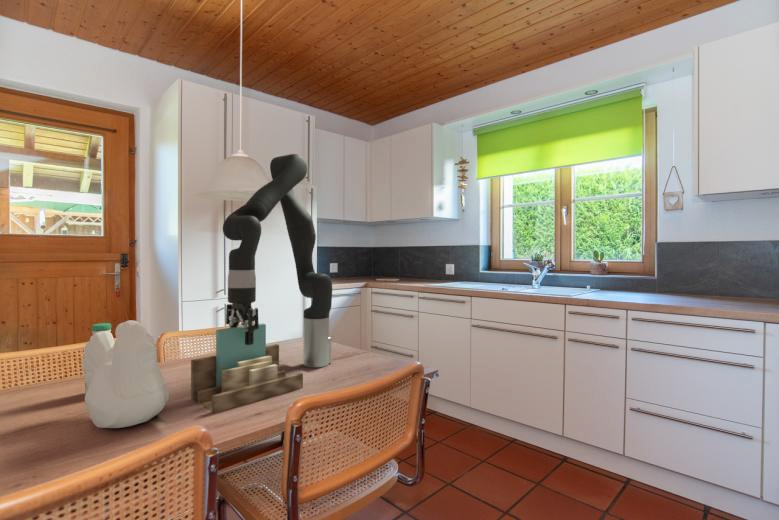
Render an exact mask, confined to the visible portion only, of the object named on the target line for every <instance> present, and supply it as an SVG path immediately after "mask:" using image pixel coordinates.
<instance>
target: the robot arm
mask: <svg viewBox="0 0 779 520" xmlns="http://www.w3.org/2000/svg"><path fill="white" fill-rule="evenodd" d="M269 170H270V175H271V179H272V180H271V181H269V182H267V183H266V184H264V185H263V186H261V187H260V188H259V189H258V190H256V192H254V193H253V194H252V196H251V197H250V198H249V199H248V200H247V201H246V203H245V204H244V205H242V206H240V207H238V209H236V210H234V211H233V212H231V214H229V215H228V216H227V217H226V219H225V220H224V221H223V224H222V232H223V235H224V237H225V238H226V239H228V240H230V241H241V242H240V244H239V247H237V248H234V249H231V250H230V252H229V254H228V275H227V302H228V303H229V304H226V312H225V324H226V325H228V328H233V327H240V326H239V325H240V324H241V326H244V329H245V331H246V332H245V345H252V344H253V339H254V331H255V330H256V329H258V328H259V326H258V324H259V309H258V307H252V303H254V302H256V299H257V298H256V295H257V294H256V293H257V292H256V291H257V290H256V289H257V282H256V280H257V279H256V278H257V277H256V254H257V251H258V250H257V249H258V247H259V243H260V240H261V239H260V238H261V235H262V225H261V222H263V221H265V220H266V218H267V217H268V216H269V215H270V214H271V212H272V211H273V210H274V208H275V207H276V206H277V205H278V204H279V202H280V206H281V210H282V213H283V216H284V217H283V218H284V220H285V227H286V230H287V234H288V237H289V242H290V245H291V249H292V253H293V259H294V263H295V268H296V269H295V270H296V277H297V284H298V289H299V292H300V293H301V295H302V296H303V297H304V298H307V299H311V305H310V306H309V307H307V308H305V309H304V310H303V350H302V351H303V355H302V356H303V361H302V363H303V366H304V367H306V368H322V367H327V366H328V365H329V363H330V364H332V337H330V312H331V309H332V301H333V282H332V278H331V277H330V276H329V275H328V274H326V273H322V272H321V273H320V272H317V273H316V272H315V269H314V263H313V252H314V249H315V245H316V241H317V240H316V238H317V236H316V231H315V225H314V222H313V218H312V216H311V214H310V213H309V212H308V210H307V209H306V208H305V207H304V206H303V205H302V203H301V202H300V201H299V200H298V199H297V197H296V194H295V192H294V189H293V188H295V186H298V184H299V183H301V182H302V181H303V180H304V179H305V178H306V176H307V173H308V165H307V162H306V159H304V157H303V156H302V155H300V154H298V153H291V154H285V155H280V156H276V157H274V158H272V159H271V161H270V164H269Z"/></svg>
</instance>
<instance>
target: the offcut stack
mask: <svg viewBox="0 0 779 520" xmlns="http://www.w3.org/2000/svg"><path fill="white" fill-rule="evenodd" d="M274 379H277V365H275V364H274V365H272V356H264V357H260V358H255V359H250V360H245V361H240V362H237V368H232V369H227V370H223V371H222V393H224V392H227V391H231V390H235V389H239V388H243V387H247V386H251V385H255V384H259V383H262V382H266V381H270V380H274Z"/></svg>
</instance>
